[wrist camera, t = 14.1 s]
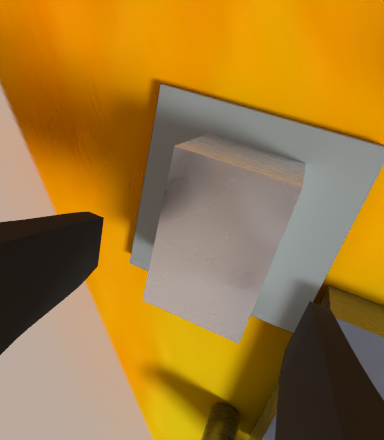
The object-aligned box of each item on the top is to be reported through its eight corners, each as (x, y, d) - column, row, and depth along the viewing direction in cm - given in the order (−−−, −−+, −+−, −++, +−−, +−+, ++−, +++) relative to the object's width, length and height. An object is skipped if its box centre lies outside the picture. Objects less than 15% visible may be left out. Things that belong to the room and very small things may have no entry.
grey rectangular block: (255, 291, 17) (238, 343, 13) (177, 259, 18) (142, 300, 14) (306, 163, 14) (302, 187, 10) (208, 133, 15) (174, 145, 11)
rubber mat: (297, 325, 17) (296, 334, 17) (136, 257, 20) (129, 263, 19) (387, 146, 13) (390, 149, 12) (167, 84, 15) (160, 84, 15)
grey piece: (355, 491, 20) (360, 539, 18) (249, 436, 22) (242, 474, 19) (484, 345, 14) (514, 390, 12) (328, 285, 16) (330, 315, 14)
